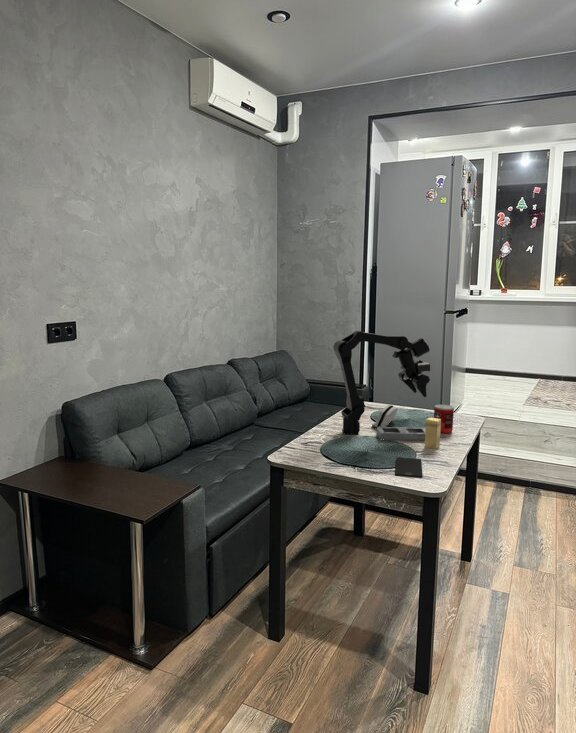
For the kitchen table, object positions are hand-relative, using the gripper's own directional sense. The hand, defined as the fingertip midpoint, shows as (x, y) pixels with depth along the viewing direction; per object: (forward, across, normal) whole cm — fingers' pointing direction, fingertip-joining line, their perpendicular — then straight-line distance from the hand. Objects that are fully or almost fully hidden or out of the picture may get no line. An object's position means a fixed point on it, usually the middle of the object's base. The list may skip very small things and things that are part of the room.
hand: (420, 394), depth 231 cm
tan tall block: (+11, -25, +12) cm, 30 cm away
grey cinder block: (+8, -11, +18) cm, 22 cm away
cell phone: (+4, -45, +30) cm, 54 cm away
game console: (+9, +10, +17) cm, 22 cm away
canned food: (+18, -6, -1) cm, 19 cm away
